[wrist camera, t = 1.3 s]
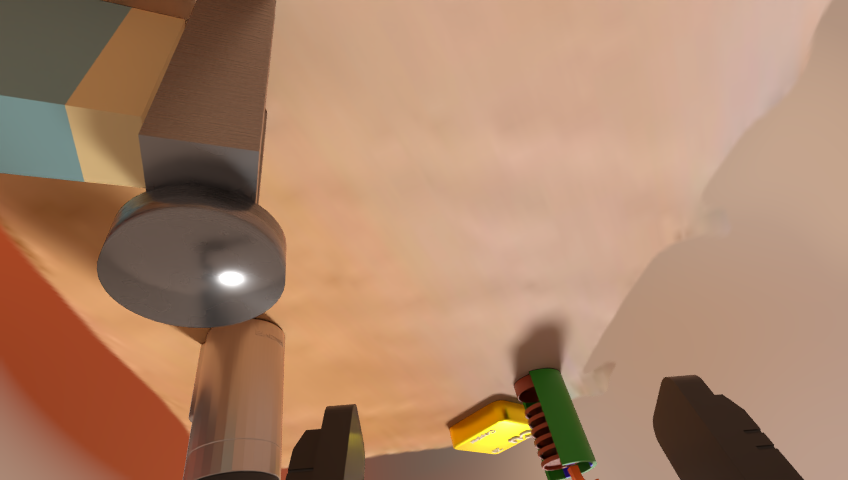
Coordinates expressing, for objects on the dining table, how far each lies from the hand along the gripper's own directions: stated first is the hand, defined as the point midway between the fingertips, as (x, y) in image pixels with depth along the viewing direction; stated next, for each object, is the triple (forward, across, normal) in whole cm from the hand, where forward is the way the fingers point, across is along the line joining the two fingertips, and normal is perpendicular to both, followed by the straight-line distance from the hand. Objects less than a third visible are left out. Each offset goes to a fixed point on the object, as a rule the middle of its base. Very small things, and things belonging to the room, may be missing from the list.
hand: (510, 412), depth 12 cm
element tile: (+58, +10, -68) cm, 90 cm away
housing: (+26, -14, +7) cm, 31 cm away
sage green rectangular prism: (+24, -23, +10) cm, 35 cm away
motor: (+53, +17, -53) cm, 77 cm away
